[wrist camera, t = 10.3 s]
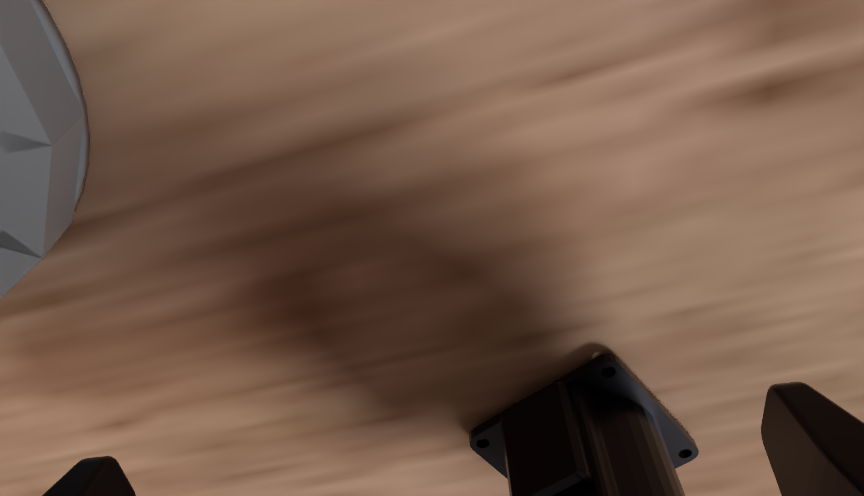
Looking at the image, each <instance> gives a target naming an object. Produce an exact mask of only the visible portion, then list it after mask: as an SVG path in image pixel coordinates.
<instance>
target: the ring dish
mask: <svg viewBox="0 0 864 496" xmlns="http://www.w3.org/2000/svg"><path fill="white" fill-rule="evenodd" d="M89 143H90V134H89V126H88V117H87V108H86V104H85V100H84V96H83V92H82V88H81V84H80V80H79V76H78V74H77V71H76V69H75V66H74V63H73V61H72V58H71V56H70V53H69V51H68V48H67V46H66V43H65V41H64V39H63V37H62V36H61V34H60V32H59V30H58V28H57V26H56V24H55V22H54V20H53V19H52V17H51V15H50V13H49V11H48V9H47V8H46V6H45V5H44V3H43V2H42V0H0V298H1V297H2V296H3V295H4V294H5V293H6V292H7V291H8V290H9V289H11V288H12V287H13V286H14V285H15V284H16V283H17V282H18V281H19V280H20V279H21V278H22V277H24V276H25V275H26V274H27V273H28V272H29V271H30V270H31V269H32V268H33V267H34V266H35V265H36V264H38V263H39V262H40V261H41V260H42V259H43V258H44V257H45V255H46V254H47V253H48V252H49V250H50V249H51V248H52V247H53V245H54V244H55V243H56V242H57V240H58V239H59V238H60V237H61V235H62V234H63V233H64V232H65V230H66V229H67V228H68V227H69V225H70V224H71V223H72V222H73V215H74V212H75V210H76V207H77V205H78V202H79V199H80V197H81V194H82V192H83V189H84V185H85V180H86V175H87V170H88V165H89Z"/></svg>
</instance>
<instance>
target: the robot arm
mask: <svg viewBox="0 0 864 496" xmlns="http://www.w3.org/2000/svg"><path fill="white" fill-rule="evenodd" d="M607 367H611V368H610V369H608V370H603V369H604V368H607ZM761 434H762V440H763V444H764V447H765V450H766V453H767V455H768V458H769V461H770V464H771V467H772V469H773V472H774V475H775V478H776V480H777V483H778V486H779V489H780V492H781V494H782V496H864V423H863V422H862V421H860V420H859V419H857V418H856V417H854V416H853V415H851V414H850V413H849V412H847V411H846V410H844V409H843V408H841V407H840V406H838V405H837V404H835V403H834V402H832V401H831V400H829V399H828V398H827V397H825V396H824V395H822V394H821V393H819V392H818V391H816V390H815V389H813V388H812V387H810V386H809V385H807V384H805V383H802V382H791V383H781V384H774V385H772V386H771V387H770V388H769V389H768V392H767V396H766V402H765V408H764V414H763V419H762V425H761ZM469 439H470V447H471V448H472V449H473V450H474V451H475V452H476V453H477V454H479V455H480V456H481V457H482V458H483V459H485V460H486V461H487V462H488V463H489V464H491V465H492V466H493V467H494V468H495V469H496V470H498V471H499V472H500V473H501V474H502V475H504V476H505V477H506V478H507V479H508V485H509V492H510V496H685V494H684V492H683V489H682V486H681V484H680V481H679V478H678V476H677V473H676V470H675V468H677V467H679V466H681V465H683V464H685V463H687V462H689V461H691V460H693V459H694V458H696V457H697V455H698V448H697V446H696V444H695V442H694V440H693V439H692V437H691V436H690V435H689V434H688V433H687V432H686V431H685V430H684V429H683V428H682V427H681V425H680V424H679V423H678V422H677V421H676V420H675V419H674V418H673V417H672V416H671V415H670V414H669V412H668V411H667V410H666V409H665V408H664V407H663V406H662V405H661V404H660V403H659V402H658V400H657V399H656V398H655V397H654V396H653V395H652V394H651V393H650V392H649V391H648V390H647V389H646V387H645V386H644V385H643V384H642V383H641V382H640V381H639V380H638V379H637V378H636V377H635V376H634V374H633V373H632V372H631V371H630V370H629V369H628V368H627V367H626V366H625V365H624V364H623V362H622V361H621V360H620V359H619V358H618V357H616V356H615V355H612V354H603V355H601V356H598V357H596V358H595V359H593V360H591V361H590V362H588V363H586V364H584V365H583V366H581V367H579V368H577V369H576V370H574V371H572V372H571V373H569V374H567V375H565V376H564V377H562V378H560V379H558V380H557V381H555V382H553V383H552V384H550V385H548V386H546V387H545V388H543V389H541V390H539V391H538V392H536V393H534V394H533V395H531V396H529V397H527V398H526V399H524V400H522V401H520V402H519V403H517V404H515V405H514V406H512V407H510V408H508V409H507V410H505V411H503V412H501V413H500V414H498V415H496V416H495V417H493V418H491V419H489V420H488V421H486V422H484V423H482V424H481V425H479V426H477V427H476V428H474V429H473V430H472V431H471V432H470V434H469ZM480 439H484V440H480ZM42 496H136V495H135V492H134V490H133V488H132V486H131V484H130V483H129V481H128V479H127V477H126V476H125V474H124V472H123V470H122V469H121V467H120V465H119V463H118V462H117V460H116V459H114V458H113V457H111V456H103V457H94V458H86V459H83V460H81V461H80V462H78V463H77V464H76V465H75V466H74V467H73V468H72V469H70V470H69V471H68V472H67V473H66V474H65V475H64V476H63V477H62V478H61V479H60V480H59V481H57V482H56V483H55V484H54V485H53V486H52V487H51V488H50V489H49V490H48V491H47V492H46V493H44V494H43V495H42Z"/></svg>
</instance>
